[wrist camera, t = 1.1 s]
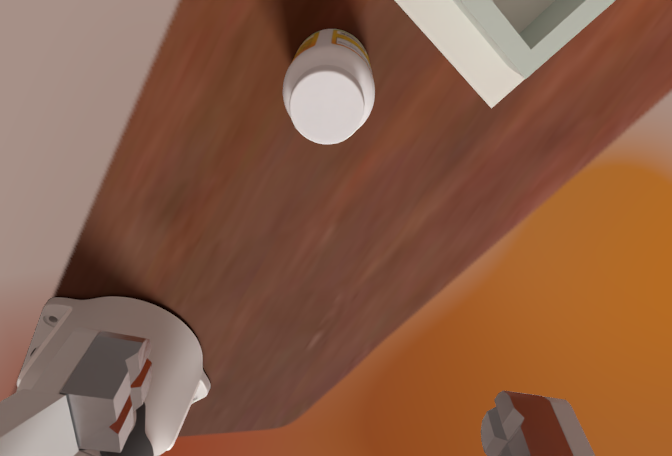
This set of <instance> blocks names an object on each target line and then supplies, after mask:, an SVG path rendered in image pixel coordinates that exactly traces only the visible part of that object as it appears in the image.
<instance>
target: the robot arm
mask: <svg viewBox="0 0 672 456" xmlns="http://www.w3.org/2000/svg"><path fill="white" fill-rule="evenodd" d="M202 363H203V356H202V350H201V347H200V344H199V342H198V340H197V338H196V337H195V335H194V334H193V332H192V331H191V330H190V329H189V328H188V327H187V325H185V324H184V323H183V322H182V321H181V320H180V319H179V318H177V317H176V316H174V315H173V314H171V313H170V312H168V311H166V310H164V309H162V308H160V307H158V306H156V305H154V304H151V303H148V302H145V301H142V300H138V299H134V298H128V297H117V296H109V297H99V298H94V299H88V300H77V299H71V298H63V297H54V298H50V299H49V300H48V301H47V303H46V305H45V306H44V308H43V310H42V313H41V315H40V318H39V321H38V324H37V327H36V329H35V332H34V335H33V338H32V341H31V344H30V346H29V349H28V352H27V355H26V358H25V360H24V363H23V366H22V369H21V372H20V374H19V377H18V380H17V386H18V388H17V392H16V393H15V394H13V395H11V396H10V397H8V398H6V399H4V400H3V401H1V402H0V456H159V455H161V454H162V453H164V452H165V451H166V450H170V449H171V448H172V446H173V445H174V443H175V441H176V438H177V436H178V434H179V432H180V429H181V427H182V425H183V422H184V420H185V418H186V415H187V413H188V411H189V408H190V406H191V404H192V403H194V402H196V401H198V400H200V399H202V398H204V397H206V396H207V394H208V392H209V390H210V388H211V384H210V382H209V379H208V378H207V376H206V374H205V373H204V371H203V366H202ZM495 403H496V407H495V408H493V409H491V410H489V411H487V413H486V415H485V417H484V419H483V421H482V427H481V439H482V445H483V449H484V452H485V453H486V455H487V456H595V455H594V452H593V450H592V448H591V446H590V444H589V442H588V440H587V438H586V436H585V434H584V432H583V430H582V427H581V426H580V423H579V421H578V419H577V417H576V415H575V413H574V411H573V409H572V407H571V405H570V404H569V403H568V402H567V401H566V400H563V399H556V398H550V397H543V396H539V395H531V394H524V393H517V392H509V391H502V392H500V393H499V394H498V395H497V397H496V398H495Z"/></svg>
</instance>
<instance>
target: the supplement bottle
mask: <svg viewBox="0 0 672 456" xmlns="http://www.w3.org/2000/svg"><path fill="white" fill-rule="evenodd" d="M374 97H375V86H374V80H373V76H372V71H371V66H370V61H369V57H368V55H367V52H366V50H365V48H364V47H363V45H362V44H361V43H360V41H359V40H358V39H357V38H355V37H354V36H353V35H351V34H350V33H348V32H345V31H343V30H339V29H324V30H320V31H318V32H316V33H314V34H312V35H311V36H309V37H308V38H307V39H306V40H305V41H304V42H303V43H302V44H301V46H300V47H299V49H298V51H297V52H296V55H295V57H294V59H293V60H292V62H291V64H290V66H289V68H288V70H287V73H286V75H285V79H284V83H283V99H284V104H285V107H286V110H287V112H288V114H289V115H290V117H291V119H292V122H293V124H294V126H295V127H296V129H297V130H298V131H299V132H300V133H301V134H302V135H303V136H304V137H306V138H307V139H309V140H311V141H313V142H316V143H320V144H335V143H339V142H341V141H344V140H346V139H347V138H349V137H350V136H351V135H352V134H354V132H355V131H356V130H357V129H358V128H360V127H361V126H362V125H363V124H364V122H365V121H366V120H367V118H368V116H369V115H370V113H371V110H372V107H373V104H374Z"/></svg>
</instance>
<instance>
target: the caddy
mask: <svg viewBox="0 0 672 456" xmlns="http://www.w3.org/2000/svg"><path fill="white" fill-rule="evenodd" d="M395 1H396V2H397V4H398V5H399V6H400V7H401V8H402V9H403V10H404V11H405V12H406V14H407V15H408V16H409V17H410V18H411V19H412V20H413V21H414V23H415V24H416V25H417V26H418V27H419V28H420V29H421V30H422V31H423V33H424V34H425V35H426V36H427V37H428V38H429V39H430V40H431V42H432V43H433V44H434V45H435V46H436V47H437V48H438V49H439V50H440V52H441V53H442V54H443V55H444V56H445V57H446V58H447V59H448V61H449V62H450V63H451V64H452V65H453V66H454V67H455V68H456V69H457V71H458V72H459V73H460V74H461V75H462V76H463V77H464V78H465V80H466V81H467V82H468V83H469V84H470V85H471V86H472V87H473V88H474V90H475V91H476V92H477V93H478V94H479V95H480V96H481V97H482V99H483V100H484V101H485V102H486V103H487V104H488V105H489V106H490V107H491V108H492V107H493V106H495V105H496V104H497V103H498V102H499V101H500V100H501V99H503V98H504V97H505V96H506V95H507V94H508V93H509V92H511V91H512V90H513V89H514V88H515V87H516V86H517V85H519V84H520V83H521V82H522V81H523V80H524V79H526V78H527V77H529V76H530V75H531V74H532V73H533V72H534V71H535V70H537V69H538V68H539V67H540V66H541V65H542V64H543V63H545V62H546V61H547V60H548V59H549V58H550V57H551V56H553V55H554V54H555V53H556V52H557V51H558V50H559V49H560V48H562V47H563V46H564V45H565V44H566V43H567V42H568V41H570V40H571V39H572V38H573V37H574V36H575V35H576V34H578V33H579V32H580V31H581V30H582V29H583V28H584V27H586V26H587V25H588V24H589V23H590V22H591V21H592V20H594V19H595V18H596V17H597V16H598V15H599V14H600V13H602V12H603V11H604V10H605V9H606V8H607V7H608V6H610V5H611V4H612V3H613V2H614V1H615V0H395Z"/></svg>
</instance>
